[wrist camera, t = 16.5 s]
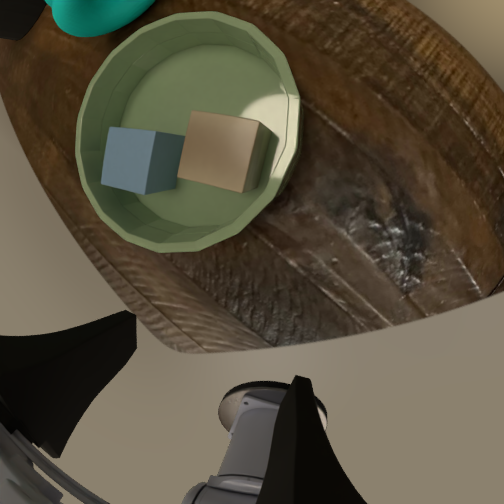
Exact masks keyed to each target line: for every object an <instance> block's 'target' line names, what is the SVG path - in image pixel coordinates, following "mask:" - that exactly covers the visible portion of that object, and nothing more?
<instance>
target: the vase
mask: <svg viewBox="0 0 504 504" xmlns="http://www.w3.org/2000/svg"><path fill="white" fill-rule="evenodd" d="M45 5H46V2H45V0H0V38H3V39H11V40H19V39H21V38H22V37H23V36H24V35H25V34H26V33H27V32H28V31H29V30H30V29H31V27H32V26H33V25H34V23H35V22H36V20H37V19H38V17H39V16H40V14H41V12H42V11H43V9H44V7H45Z"/></svg>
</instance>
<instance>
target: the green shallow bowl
mask: <svg viewBox="0 0 504 504" xmlns="http://www.w3.org/2000/svg"><path fill="white" fill-rule="evenodd" d="M192 110H196V111H204V112H211V113H218V114H224V115H231V116H236V117H242V118H247V119H252V120H257V121H260V122H261V123H263V124H264V125H265V126H266V127H268V128H269V129H270V130H271V131H272V134H271V137H270V141H269V145H268V149H267V153H266V157H265V161H264V165H263V169H262V173H261V177H260V181H259V185H258V188H256V189H253V190H250V191H247V192H245V193H238V192H234V191H230V190H226V189H222V188H218V187H214V186H210V185H206V184H202V183H198V182H194V181H190V180H186V179H182V178H178V177H177V181H176V186H175V189H171V190H166V191H161V192H157V193H152V194H148V195H142V194H138V193H134V192H130V191H127V190H123V189H119V188H115V187H111V186H107V185H103V184H101V178H102V170H103V162H104V156H105V149H106V143H107V138H108V132H109V127H122V128H133V129H142V130H151V131H159V132H165V133H171V134H177V135H182V136H186V131H187V127H188V123H189V119H190V115H191V111H192ZM303 126H304V112H303V107H302V103H301V98H300V95H299V92H298V89H297V86H296V84H295V81H294V78H293V75H292V73H291V70H290V67H289V65H288V62H287V59H286V57H285V55H284V53H283V52H282V51H281V50H280V49H279V48H278V47H277V46H276V45H275V44H274V43H273V42H272V41H271V40H270V39H269V38H268V37H267V36H266V35H264V34H263V33H262V32H261V31H260V30H259V29H258V28H257V27H256V26H255V25H253V24H251V23H248V22H246V21H243V20H240V19H237V18H234V17H232V16H229V15H226V14H222V13H219V12H214V11H213V12H189V13H177V14H173V15H171V16H168V17H166V18H163V19H161V20H158V21H156V22H153V23H151V24H149V25H146V26H144V27H142V28H140V29H139V30H137V31H136V32H135V33H133V34H132V35H131V36H130V37H128V38H127V39H126V40H125V41H124V42H122V43H121V44H120V45H119V46H118V47H116V48H115V49H114V50H113V51H112V52H111V53H110V54H109V56H108V57H107V58H106V60H105V61H104V62H103V64H102V65H101V67H100V68H99V70H98V71H97V73H96V74H95V76H94V77H93V79H92V80H91V82H90V84H89V86H88V89H87V91H86V94H85V97H84V100H83V103H82V106H81V109H80V112H79V115H78V119H77V129H76V145H75V156H76V161H77V166H78V170H79V175H80V179H81V183H82V187H83V190H84V191H85V193H86V195H87V197H88V199H89V200H90V202H91V204H92V206H93V207H94V209H95V211H96V213H97V214H98V216H99V217H100V219H101V220H103V221H104V222H105V223H106V224H107V225H108V226H109V227H110V228H112V229H113V230H114V231H115V232H116V233H117V234H118V235H120V236H121V237H122V238H123V239H124V240H126V241H128V242H131V243H133V244H136V245H139V246H142V247H144V248H147V249H150V250H152V251H155V252H159V253H168V252H195V251H200V250H202V249H205V248H207V247H209V246H211V245H213V244H216V243H218V242H220V241H222V240H225V239H227V238H229V237H231V236H234V235H236V234H238V233H239V232H241V231H242V230H243V229H244V228H245V227H246V226H248V225H249V224H250V223H251V222H252V221H253V220H254V219H256V218H257V217H258V216H259V215H260V214H261V213H262V212H263V211H264V210H265V209H266V208H267V207H268V206H269V205H270V204H271V203H272V202H273V201H274V200H275V199H276V198H277V197H278V196H279V195H280V194H281V193H282V192H283V191H284V190H285V188H286V186H287V184H288V181H289V180H290V178H291V176H292V174H293V172H294V170H295V167H296V165H297V162H298V160H299V158H300V156H301V153H302V141H303Z"/></svg>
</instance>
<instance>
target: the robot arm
mask: <svg viewBox="0 0 504 504" xmlns="http://www.w3.org/2000/svg"><path fill="white" fill-rule="evenodd" d="M136 337H137V336H136V315H135V314H133V313H131V312H129V311H127V310H124V311H121V312H118V313H116V314H112V315H110V316H107V317H104V318H101V319H98V320H96V321H93V322H90V323H87V324H84V325H80V326H77V327H74V328H70V329H67V330H63V331H58V332H54V333H48V334H41V335H31V336H1V335H0V504H63V503H61V502H60V499H61V498H62V497H63V494H62V493H61V492H60V491H59V490H57V489H56V488H55V487H54V486H52V485H51V484H50V483H49V482H48V481H46V480H45V479H44V478H43V477H42V476H41V475H40V474H39V473H38V472H36V471H35V470H34V468H33V462H34V463H35V464H36V465H37V466H38V467H39V468H40V469H41V470H42V471H43V472H44V473H46V474H47V475H48V476H49V477H50V478H52V479H53V480H54V481H55V482H56V483H58V484H59V485H60V486H61V487H63V488H64V489H65V490H66V491H68V492H69V493H70V494H72V495H73V496H75V497H76V498H77V499H79V500H80V501H81V502H83V503H84V504H110V503H108V502H106V501H105V500H103V499H101V498H100V497H98V496H97V495H95V494H93V493H92V492H90V491H89V490H88V489H86V488H85V487H83V486H82V485H80V484H79V483H78V482H76V481H75V480H74V479H72V478H71V477H69V476H68V475H67V474H65V473H64V472H63V471H62V470H61V469H59V468H58V467H57V466H56V465H54V464H53V463H52V462H51V461H50V460H49V459H47V458H46V457H45V456H44V455H43V454H42V453H41V452H40V451H39V450H37V449H36V448H35V447H34V446H33V445H32V443H34V444H35V445H36V446H37V447H38V448H39V447H41V448H42V449H43V450H44V451H45V452H47V453H48V454H49V455H50V456H51V457H52V458H60V456H61V454H62V452H63V450H64V447H65V445H66V443H67V441H68V439H69V437H70V436H71V434H72V432H73V430H74V428H75V427H76V425H77V423H78V422H79V420H80V419H81V417H82V416H83V414H84V412H85V411H86V410H87V408H88V407H89V405H90V404H91V402H92V401H93V400H94V398H95V397H96V396H97V395H98V393H100V391H101V390H102V389H103V388H104V387H105V386H106V385H107V384H108V383H109V382H110V381H111V380H112V379H113V378H114V377H115V375H116V374H117V373H118V372H119V371H120V370H121V369H122V368H123V367H124V366H125V365H126V363H127V362H128V360H129V359H130V357H131V356H132V355H133V353H134V352H135V350H136V349H137V338H136ZM228 438H229V439H231V441H230V444H229V446H228V449H227V452H226V455H225V457H224V460H223V462H222V465H221V467H220V470H219V472H218V475H217V476H212V475H211V476H210V478H209V480H208V482H207V483H205V482H201V483H199V484H197V485H196V486H194V487H192V488H191V489H190V490H189V491H188V493H187V494H186V496H185V497H184V499H183V501H182V504H367V503H366V502H365V501H364V499H363V498H362V497H361V495H360V494H359V493H358V492H357V490H356V489H355V487H354V486H353V484H352V483H351V482H350V480H349V478H348V477H347V475H346V474H345V472H344V471H343V469H342V467H341V465H340V464H339V462H338V460H337V458H336V456H335V454H334V452H333V449H332V447H331V445H330V442H329V440H328V438H327V435H326V433H325V430H324V427H323V424H322V421H321V418H320V414H319V411H318V408H317V404H316V400H315V396H314V392H313V388H312V383H311V380H310V379H309V378H305V377H301V376H298V375H296V376H295V377H294V379H293V381H292V383H291V385H290V387H289V389H288V391H287V392H286V394H285V396H284V398H283V400H282V402H281V403H280V405H279V404H276V403H272V402H269V401H265V400H262V399H259V398H256V397H252V396H249V395H245V396H244V397H243V399H242V402H241V404H240V407H239V409H238V412H237V414H236V417H235V419H234V422H233V424H232V427H231V429H230V432H229V434H228Z"/></svg>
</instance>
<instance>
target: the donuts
mask: <svg viewBox="0 0 504 504" xmlns="http://www.w3.org/2000/svg"><path fill="white" fill-rule="evenodd" d="M45 2H46V3H47V4H48V5H49V6H50V7H52V13H53V17H54V20H55V22H56V24H57V25H58V26H59V27H60V28H61V29H62V30H63V31H65V32H66V33H68V34H71V35H74V36H78V37H93V36H99V35H104V34H107V33H110V32H113V31H115V30H117V29H120V28H122V27H124V26H125V25H127V24H129V23H130V22H132V21H133V20H135V19H136V18H138V17H139V16H140V15H142V14H143V13H144V12H145V11H146V10H147V9H148V8H149V7H150V6H151V5H152V4H153V3H154V2H155V0H45Z"/></svg>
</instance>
